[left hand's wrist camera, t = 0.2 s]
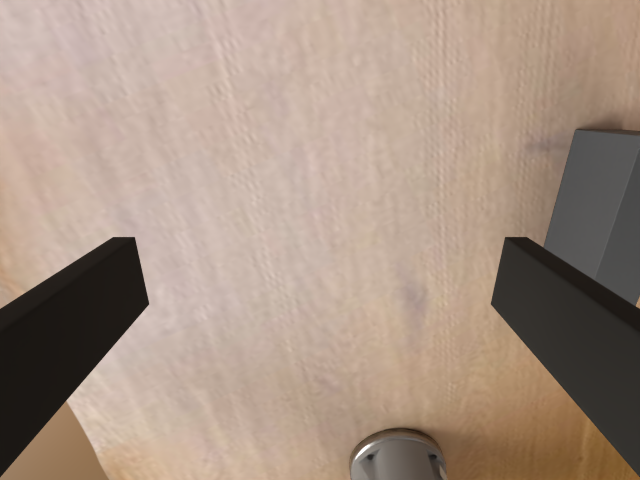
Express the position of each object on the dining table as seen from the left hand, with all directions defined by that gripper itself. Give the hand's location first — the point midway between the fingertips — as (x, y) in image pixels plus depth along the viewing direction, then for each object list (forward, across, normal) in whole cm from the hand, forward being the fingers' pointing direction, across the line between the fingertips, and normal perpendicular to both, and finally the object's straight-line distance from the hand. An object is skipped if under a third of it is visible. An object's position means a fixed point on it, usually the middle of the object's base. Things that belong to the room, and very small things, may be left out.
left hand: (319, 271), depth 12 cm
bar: (+28, -30, +7) cm, 42 cm away
